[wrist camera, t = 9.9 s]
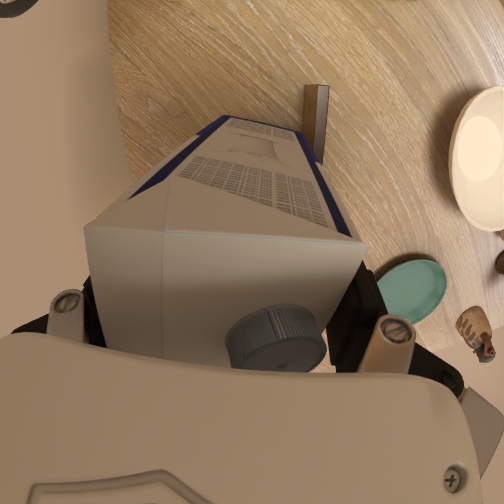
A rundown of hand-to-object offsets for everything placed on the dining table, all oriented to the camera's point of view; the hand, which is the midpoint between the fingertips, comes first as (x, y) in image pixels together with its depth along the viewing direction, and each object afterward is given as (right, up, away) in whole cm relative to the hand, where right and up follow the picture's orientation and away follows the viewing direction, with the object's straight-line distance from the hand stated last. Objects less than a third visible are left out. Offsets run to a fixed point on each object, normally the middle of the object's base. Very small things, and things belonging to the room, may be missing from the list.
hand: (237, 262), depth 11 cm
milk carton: (+1, +8, +13) cm, 15 cm away
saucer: (+26, -5, +31) cm, 41 cm away
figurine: (+46, -13, +34) cm, 59 cm away
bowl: (+32, +15, +17) cm, 39 cm away
